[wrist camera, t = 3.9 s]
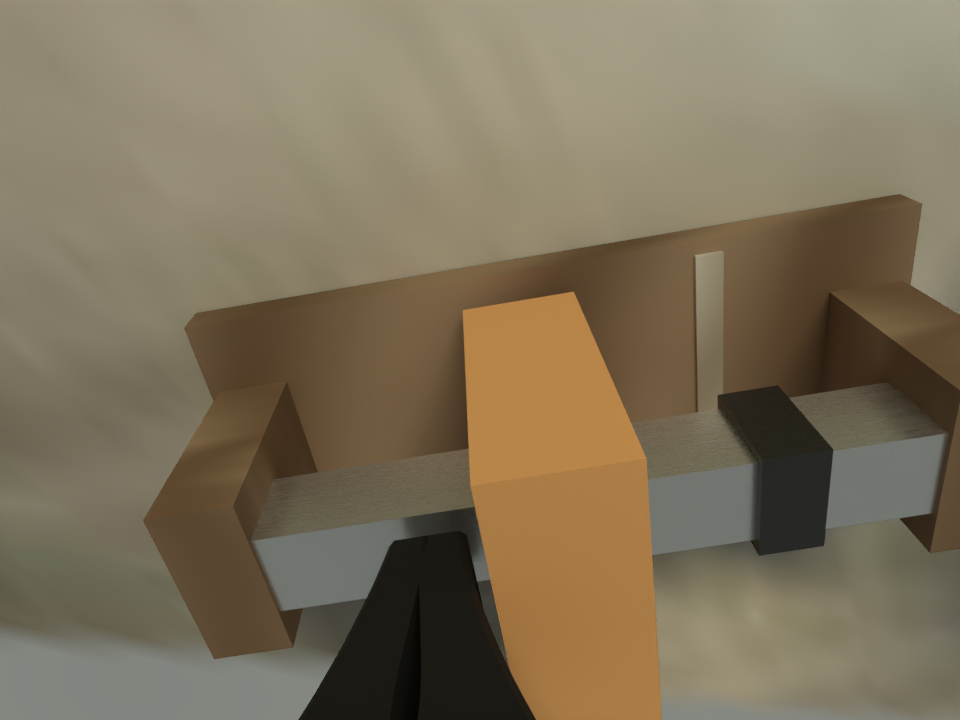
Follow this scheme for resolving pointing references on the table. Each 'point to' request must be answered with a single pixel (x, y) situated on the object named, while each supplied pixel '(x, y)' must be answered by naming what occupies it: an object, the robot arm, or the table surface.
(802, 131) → the table surface
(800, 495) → the rod
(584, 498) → the collar
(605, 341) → the stand
